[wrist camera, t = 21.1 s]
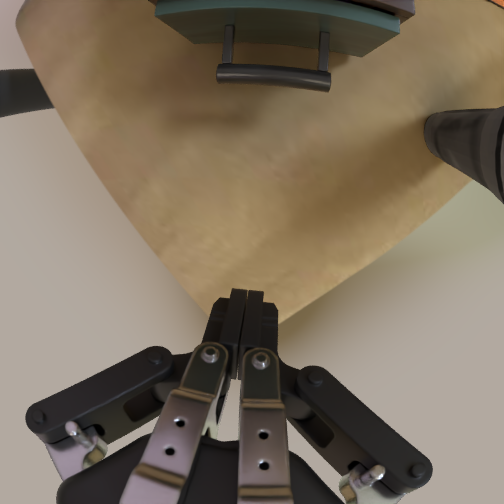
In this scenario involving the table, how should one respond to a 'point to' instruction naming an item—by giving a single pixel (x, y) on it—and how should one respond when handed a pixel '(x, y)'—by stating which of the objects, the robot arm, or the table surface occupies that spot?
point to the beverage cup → (471, 144)
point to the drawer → (280, 33)
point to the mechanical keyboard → (498, 2)
